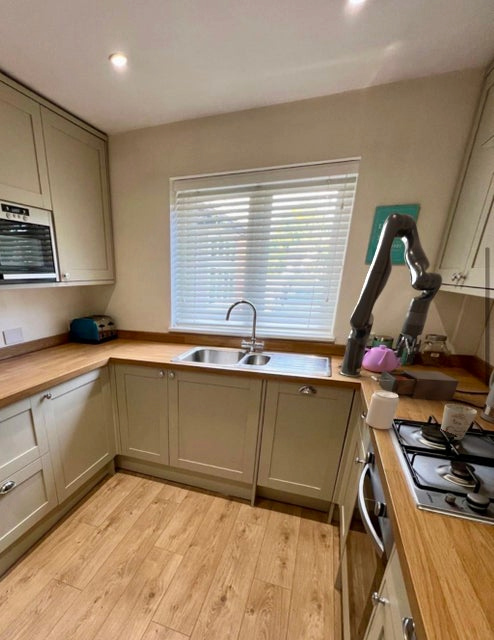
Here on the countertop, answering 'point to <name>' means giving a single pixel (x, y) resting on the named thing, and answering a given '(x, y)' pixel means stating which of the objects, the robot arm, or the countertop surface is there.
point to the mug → (457, 419)
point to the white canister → (382, 409)
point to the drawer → (390, 382)
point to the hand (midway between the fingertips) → (403, 359)
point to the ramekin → (398, 380)
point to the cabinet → (432, 385)
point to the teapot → (380, 359)
